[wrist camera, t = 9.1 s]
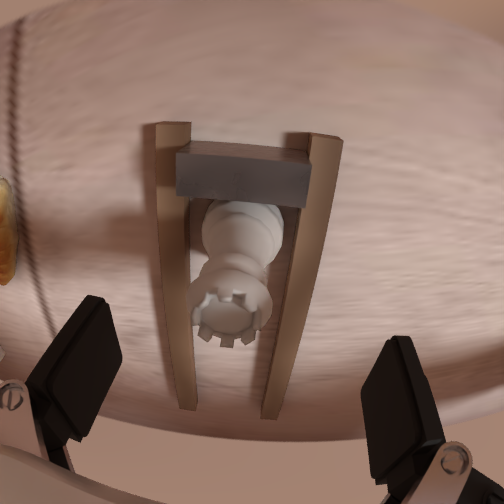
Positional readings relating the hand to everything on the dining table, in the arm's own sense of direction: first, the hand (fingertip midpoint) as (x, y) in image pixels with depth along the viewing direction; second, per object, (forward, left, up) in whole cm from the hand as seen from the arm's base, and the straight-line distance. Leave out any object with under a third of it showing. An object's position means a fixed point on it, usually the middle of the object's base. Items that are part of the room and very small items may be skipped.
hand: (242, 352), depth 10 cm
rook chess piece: (+1, 0, -9) cm, 9 cm away
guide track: (+1, +6, -9) cm, 11 cm away
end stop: (+1, -4, -9) cm, 10 cm away
